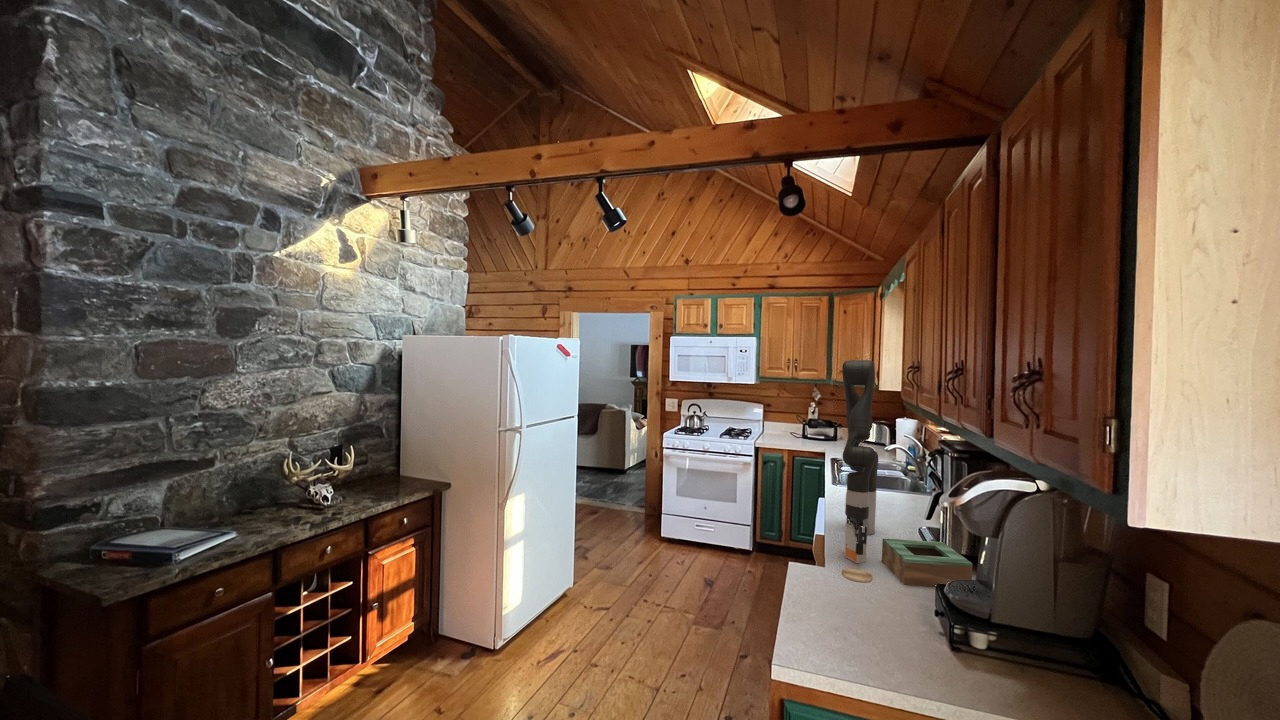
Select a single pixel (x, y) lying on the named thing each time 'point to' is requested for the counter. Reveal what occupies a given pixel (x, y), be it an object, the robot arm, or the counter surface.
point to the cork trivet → (857, 575)
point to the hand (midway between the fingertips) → (855, 549)
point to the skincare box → (853, 546)
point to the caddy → (924, 562)
